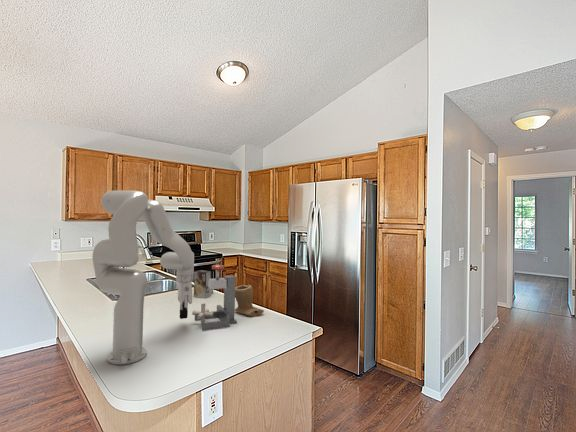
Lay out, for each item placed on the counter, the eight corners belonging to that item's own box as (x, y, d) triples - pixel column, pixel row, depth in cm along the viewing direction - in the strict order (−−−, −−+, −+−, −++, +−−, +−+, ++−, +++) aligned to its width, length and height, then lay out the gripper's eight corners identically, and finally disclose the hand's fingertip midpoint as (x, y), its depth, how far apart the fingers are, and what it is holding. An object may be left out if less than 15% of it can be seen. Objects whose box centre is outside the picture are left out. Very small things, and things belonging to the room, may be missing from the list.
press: (239, 325, 146) (240, 279, 146) (202, 330, 138) (204, 281, 138) (228, 315, 161) (229, 273, 161) (194, 319, 152) (195, 275, 152)
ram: (226, 293, 149) (227, 266, 149) (211, 295, 145) (211, 267, 145) (222, 290, 154) (223, 264, 154) (207, 292, 150) (208, 265, 150)
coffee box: (211, 296, 197) (212, 271, 197) (205, 298, 191) (206, 272, 191) (198, 294, 200) (199, 269, 200) (193, 296, 194) (193, 271, 194)
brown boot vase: (228, 312, 165) (229, 284, 165) (245, 308, 174) (246, 281, 174) (247, 320, 154) (248, 290, 154) (264, 314, 163) (265, 286, 163)
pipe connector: (208, 329, 141) (209, 307, 141) (187, 327, 142) (188, 305, 142) (216, 321, 150) (217, 301, 150) (197, 320, 152) (198, 299, 152)
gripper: (196, 280, 137) (195, 322, 137) (190, 274, 150) (188, 312, 150) (179, 281, 133) (177, 324, 133) (173, 275, 147) (172, 314, 146)
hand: (183, 317), depth 142 cm, fingers closed
